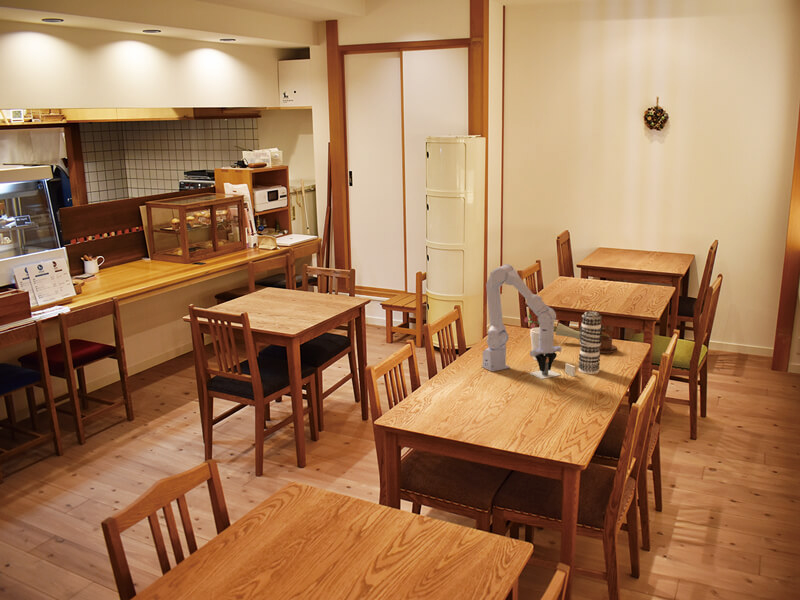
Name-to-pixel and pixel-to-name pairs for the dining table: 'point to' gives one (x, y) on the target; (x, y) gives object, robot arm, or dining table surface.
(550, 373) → the paper
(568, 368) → the rectangular block
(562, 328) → the flower vase
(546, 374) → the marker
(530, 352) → the robot arm
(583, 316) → the decorative candle
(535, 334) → the foam cup
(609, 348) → the cup and saucer
